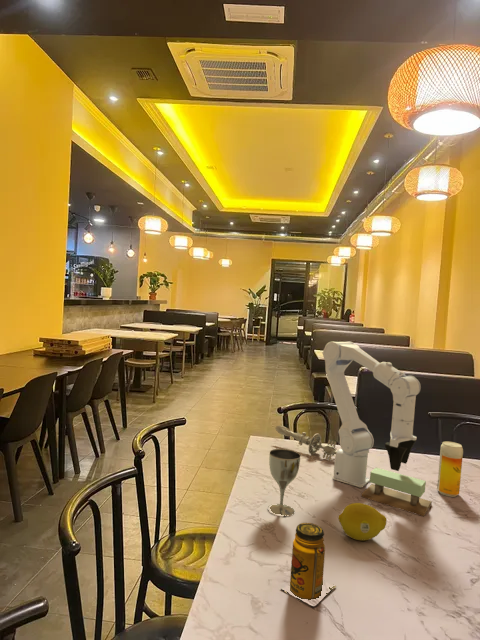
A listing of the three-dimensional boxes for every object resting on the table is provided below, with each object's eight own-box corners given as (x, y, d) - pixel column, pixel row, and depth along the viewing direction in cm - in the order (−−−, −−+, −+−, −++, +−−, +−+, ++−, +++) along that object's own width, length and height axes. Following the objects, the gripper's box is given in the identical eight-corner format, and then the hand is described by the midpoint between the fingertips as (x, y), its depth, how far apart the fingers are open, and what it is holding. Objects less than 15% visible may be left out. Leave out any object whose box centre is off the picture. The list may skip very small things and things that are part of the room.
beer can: (461, 498, 130) (466, 448, 130) (439, 495, 131) (443, 446, 131) (455, 490, 136) (460, 442, 136) (434, 487, 137) (439, 439, 137)
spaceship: (284, 419, 175) (274, 415, 169) (366, 452, 153) (358, 449, 147) (276, 438, 174) (266, 435, 168) (359, 475, 152) (350, 472, 146)
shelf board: (369, 482, 128) (370, 472, 128) (375, 477, 132) (376, 467, 132) (420, 497, 120) (421, 486, 120) (424, 491, 124) (425, 480, 124)
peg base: (361, 496, 127) (362, 482, 127) (371, 487, 135) (373, 474, 134) (423, 516, 117) (425, 501, 117) (431, 505, 125) (432, 491, 125)
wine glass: (300, 508, 117) (304, 452, 117) (290, 520, 110) (295, 461, 110) (272, 500, 121) (275, 446, 120) (261, 512, 114) (265, 454, 113)
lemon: (335, 541, 102) (337, 507, 102) (338, 525, 110) (341, 493, 109) (384, 552, 99) (387, 517, 98) (384, 535, 106) (387, 502, 106)
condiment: (280, 590, 84) (284, 527, 83) (304, 570, 90) (308, 513, 89) (313, 609, 79) (319, 543, 78) (336, 587, 85) (341, 526, 85)
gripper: (410, 426, 117) (406, 477, 118) (424, 417, 129) (420, 463, 129) (383, 421, 121) (379, 470, 122) (399, 412, 133) (395, 456, 134)
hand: (398, 466), depth 126 cm, fingers open, 7 cm apart
